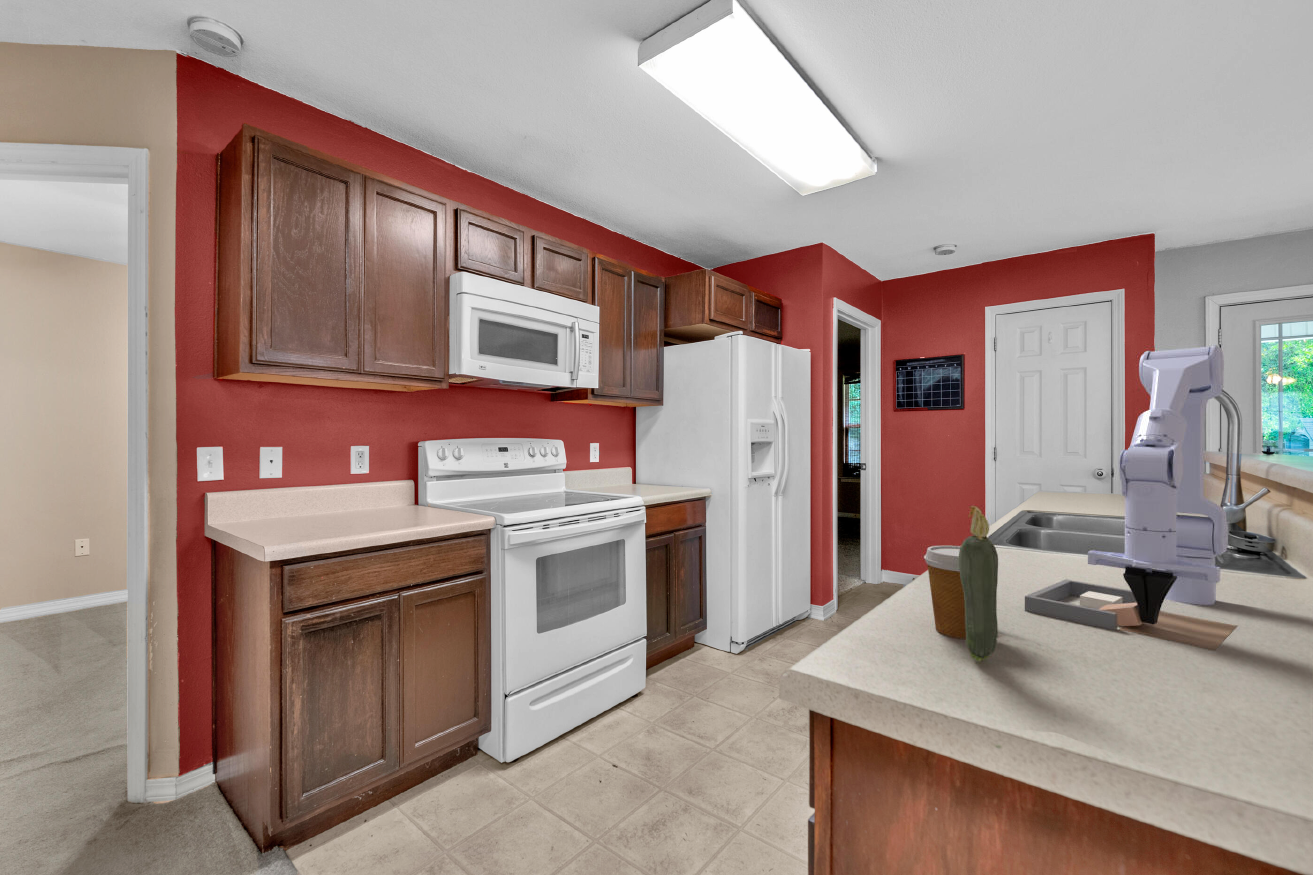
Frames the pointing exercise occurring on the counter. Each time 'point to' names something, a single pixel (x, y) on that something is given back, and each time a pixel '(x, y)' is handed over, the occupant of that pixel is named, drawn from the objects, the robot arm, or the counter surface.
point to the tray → (1050, 606)
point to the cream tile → (1098, 600)
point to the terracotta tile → (1125, 613)
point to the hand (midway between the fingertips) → (1149, 622)
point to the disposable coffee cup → (946, 590)
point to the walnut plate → (1185, 630)
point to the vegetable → (979, 587)
